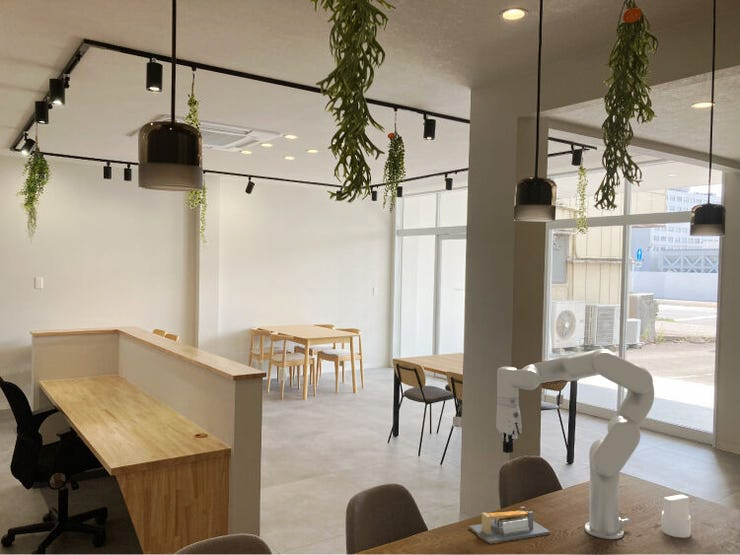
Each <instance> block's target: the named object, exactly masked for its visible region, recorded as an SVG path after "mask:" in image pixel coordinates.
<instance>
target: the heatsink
mask: <svg viewBox="0 0 740 555" xmlns="http://www.w3.org/2000/svg"><path fill="white" fill-rule="evenodd" d="M525 517H526V516H525ZM525 517H522V516H520V517H508V518H496V519H491V527H493V528H494V529H495V530H497V531H498V532H499V533H501V534H502V535H503V536H507V535H513V534H519V533H525V532H529V527H528V519H525Z"/></svg>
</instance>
